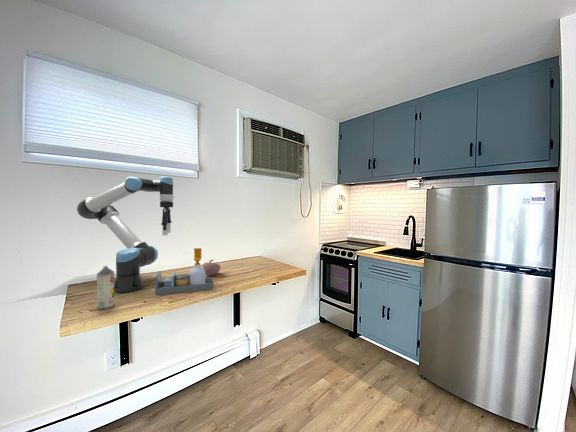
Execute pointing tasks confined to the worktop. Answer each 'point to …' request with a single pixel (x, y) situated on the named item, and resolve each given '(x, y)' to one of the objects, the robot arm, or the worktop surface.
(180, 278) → the amber jar
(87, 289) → the worktop surface
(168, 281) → the pusher
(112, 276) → the aerosol can
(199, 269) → the soap bottle
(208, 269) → the pink pumpkin
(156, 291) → the grey slotted block
